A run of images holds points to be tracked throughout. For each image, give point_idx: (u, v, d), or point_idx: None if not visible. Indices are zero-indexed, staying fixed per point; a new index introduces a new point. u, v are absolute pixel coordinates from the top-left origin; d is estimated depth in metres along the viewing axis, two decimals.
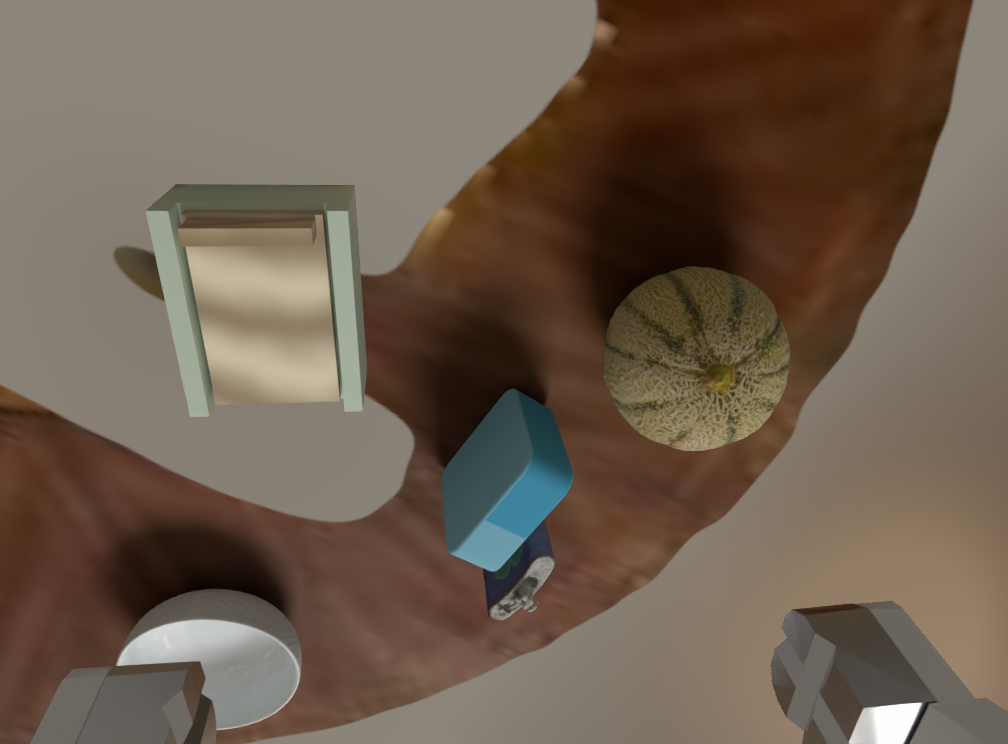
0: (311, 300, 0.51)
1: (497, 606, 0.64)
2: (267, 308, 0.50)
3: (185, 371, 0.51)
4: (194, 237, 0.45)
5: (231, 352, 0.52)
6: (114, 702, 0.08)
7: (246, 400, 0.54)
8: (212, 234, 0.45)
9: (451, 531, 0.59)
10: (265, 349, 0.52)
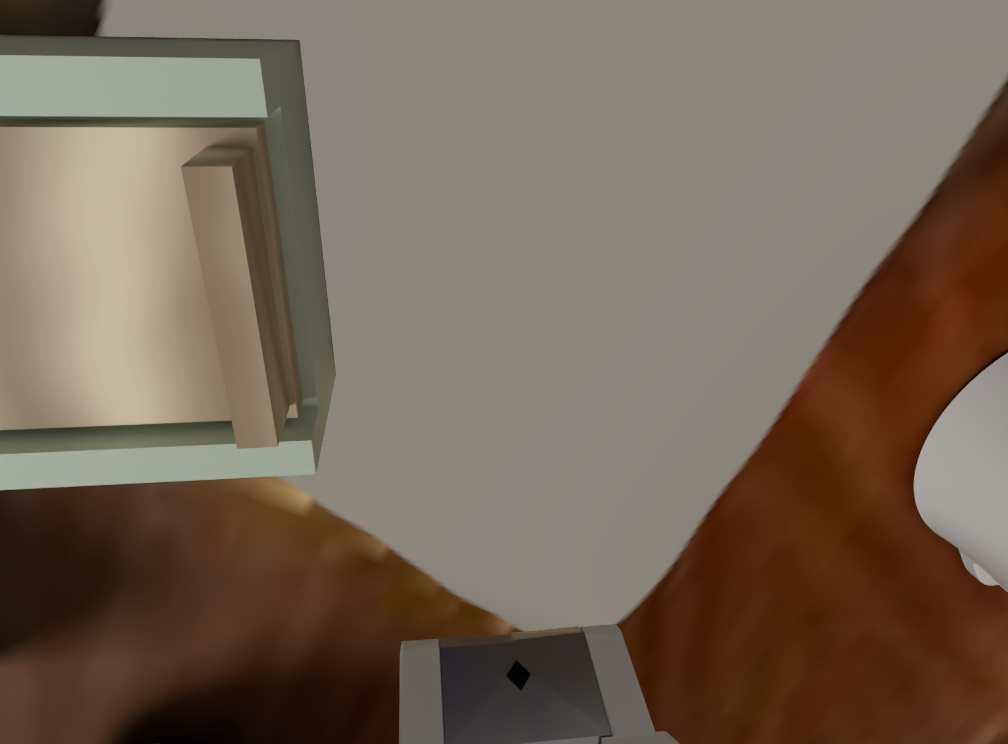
0: (87, 391, 0.22)
1: None
2: (39, 298, 0.20)
3: None
4: (213, 204, 0.17)
5: None
6: (460, 671, 0.08)
7: None
8: (229, 248, 0.18)
9: None
10: None
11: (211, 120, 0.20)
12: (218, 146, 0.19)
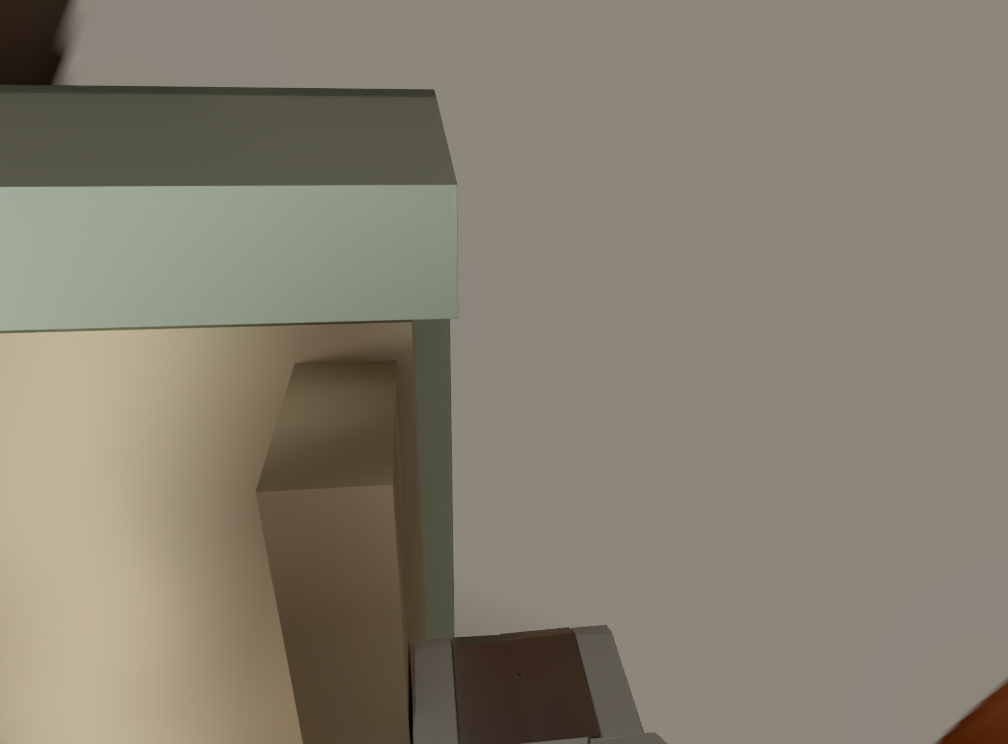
0: None
1: None
2: None
3: None
4: (335, 566, 0.07)
5: None
6: (472, 670, 0.08)
7: None
8: (364, 646, 0.07)
9: None
10: None
11: None
12: (322, 363, 0.08)
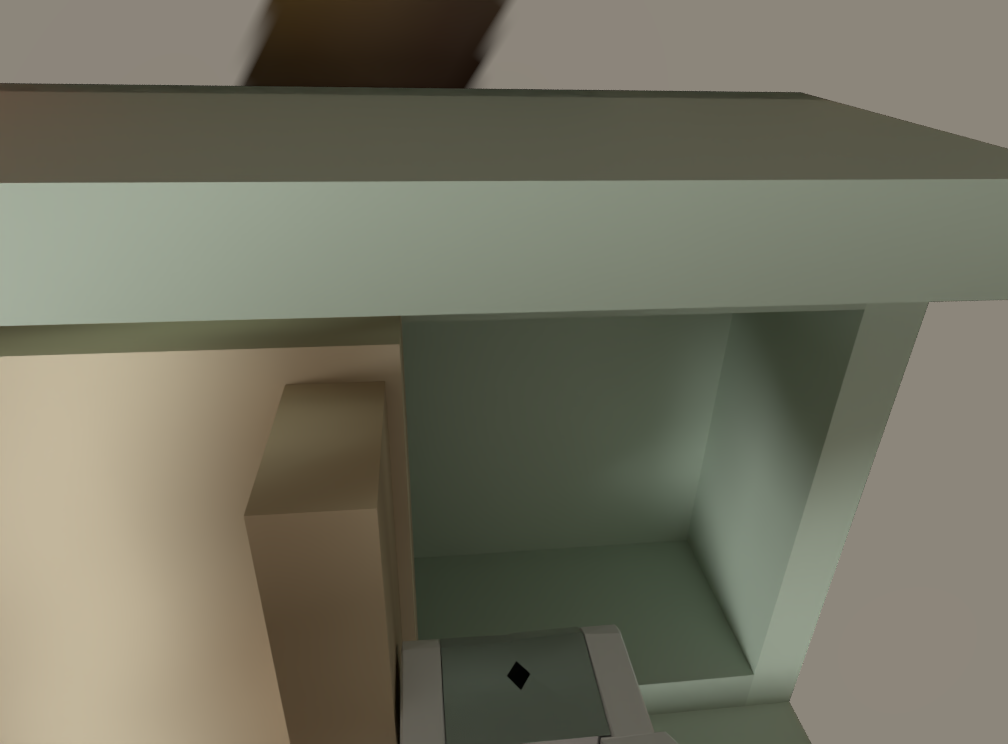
0: None
1: None
2: None
3: None
4: (322, 586, 0.07)
5: None
6: (461, 671, 0.08)
7: None
8: (352, 662, 0.07)
9: None
10: None
11: None
12: (312, 383, 0.08)
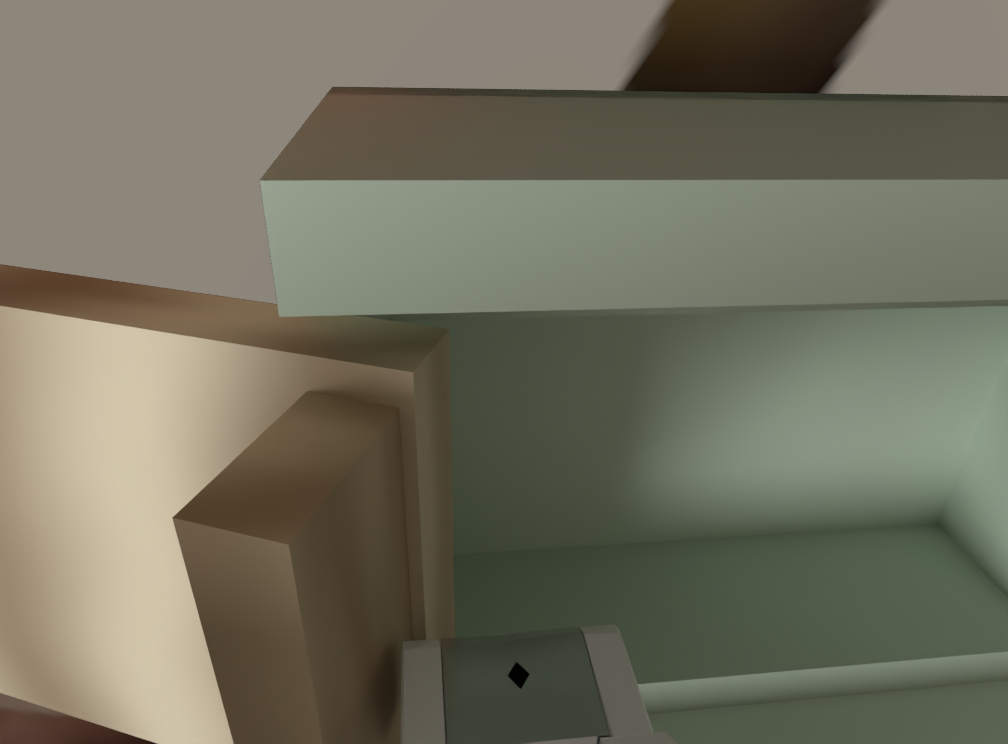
0: (119, 692, 0.13)
1: None
2: (45, 562, 0.12)
3: (666, 212, 0.07)
4: (246, 606, 0.07)
5: None
6: (461, 671, 0.08)
7: None
8: (281, 689, 0.07)
9: None
10: None
11: (343, 315, 0.09)
12: (330, 396, 0.08)
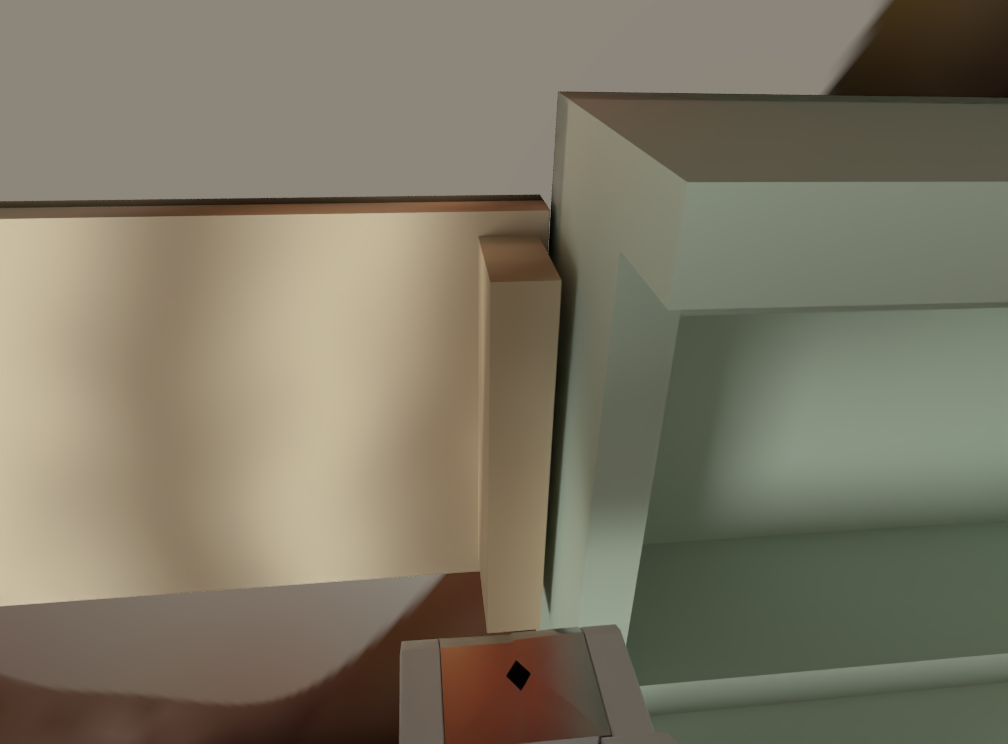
0: (271, 545, 0.17)
1: None
2: (224, 436, 0.15)
3: None
4: (525, 332, 0.12)
5: (2, 312, 0.13)
6: (460, 671, 0.08)
7: None
8: (533, 389, 0.13)
9: None
10: (54, 422, 0.14)
11: (471, 195, 0.14)
12: (495, 236, 0.14)
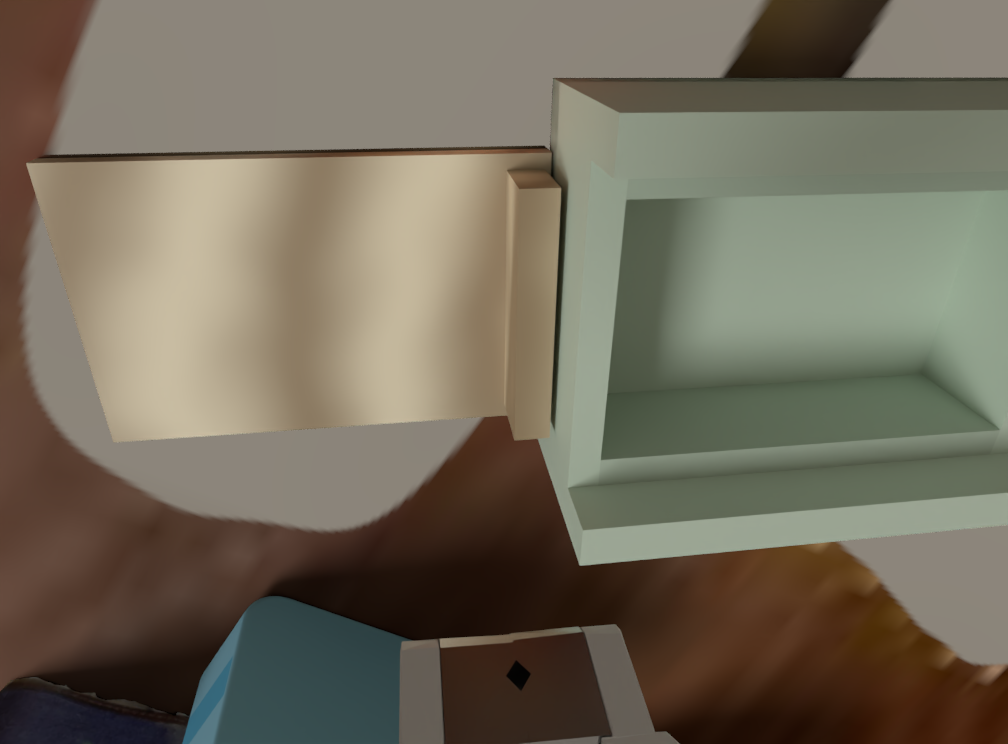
0: (364, 392, 0.24)
1: None
2: (338, 309, 0.23)
3: (791, 127, 0.15)
4: (539, 221, 0.20)
5: (207, 220, 0.21)
6: (460, 671, 0.08)
7: (63, 242, 0.20)
8: (544, 259, 0.20)
9: None
10: (230, 298, 0.22)
11: (500, 146, 0.22)
12: (517, 169, 0.21)
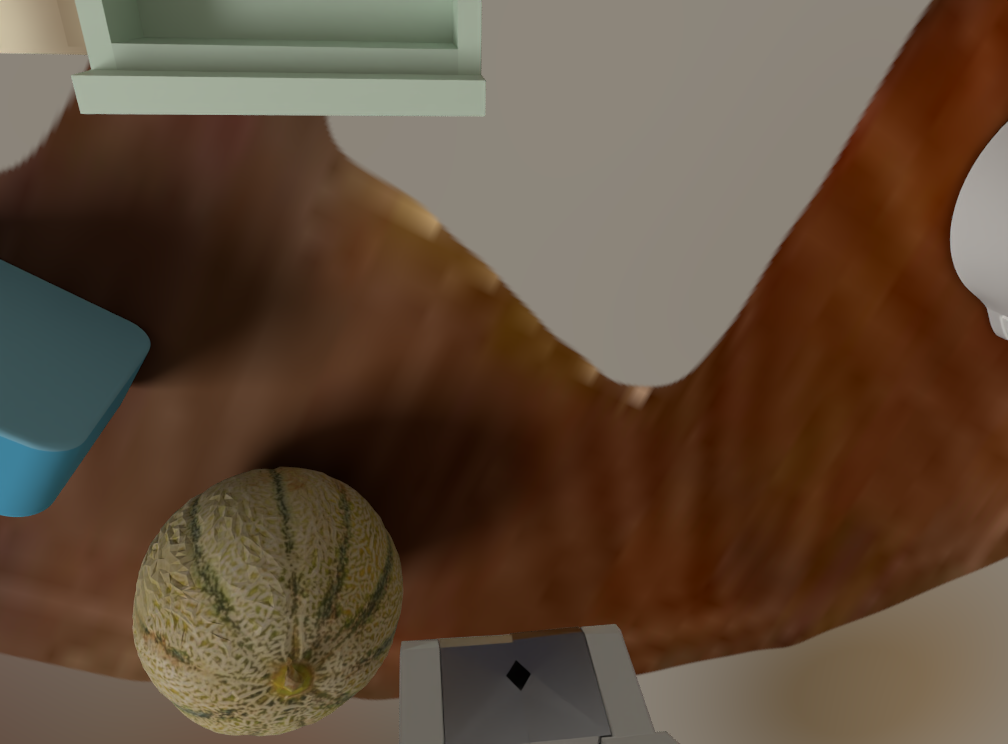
0: None
1: None
2: None
3: None
4: None
5: None
6: (460, 671, 0.08)
7: None
8: None
9: None
10: None
11: None
12: None
